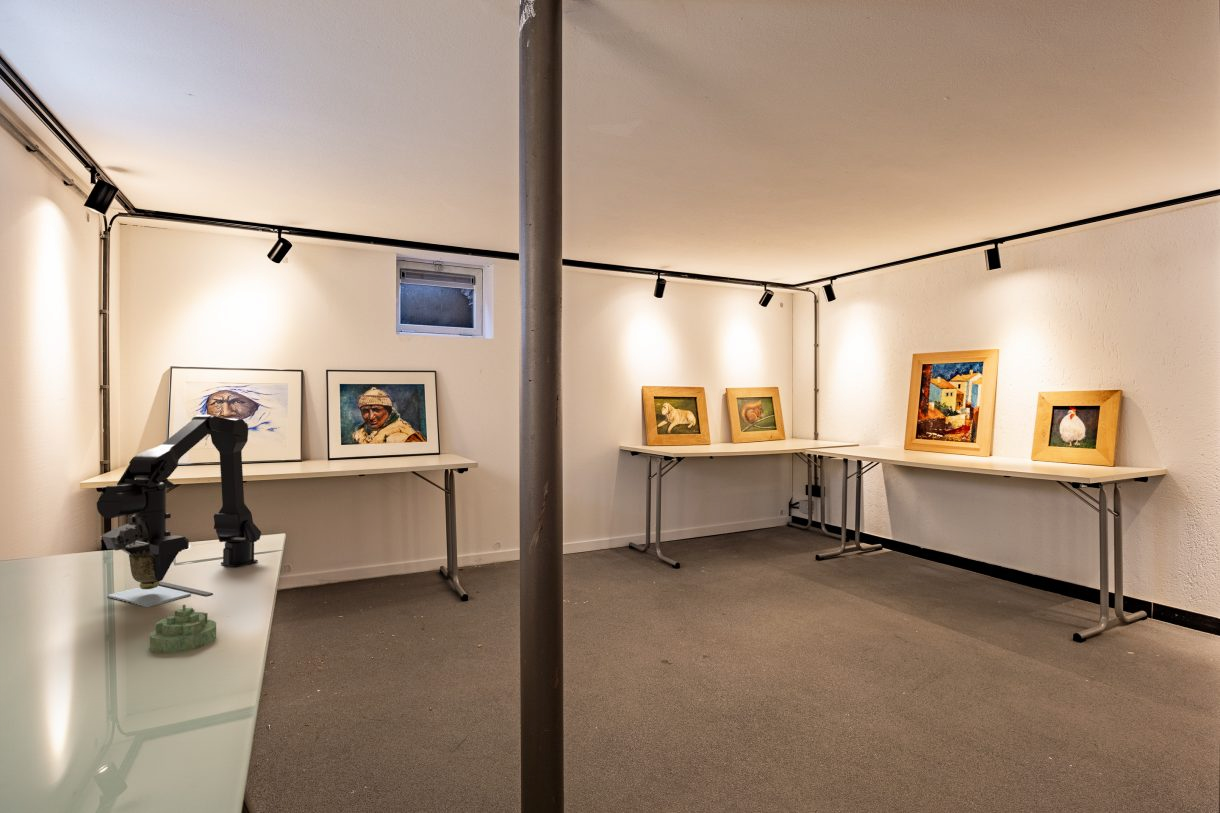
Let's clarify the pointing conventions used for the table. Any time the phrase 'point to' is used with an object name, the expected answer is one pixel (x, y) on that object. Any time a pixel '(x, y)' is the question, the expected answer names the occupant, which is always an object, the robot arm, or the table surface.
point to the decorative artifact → (182, 632)
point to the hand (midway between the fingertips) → (150, 578)
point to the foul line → (185, 589)
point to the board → (149, 596)
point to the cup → (143, 570)
